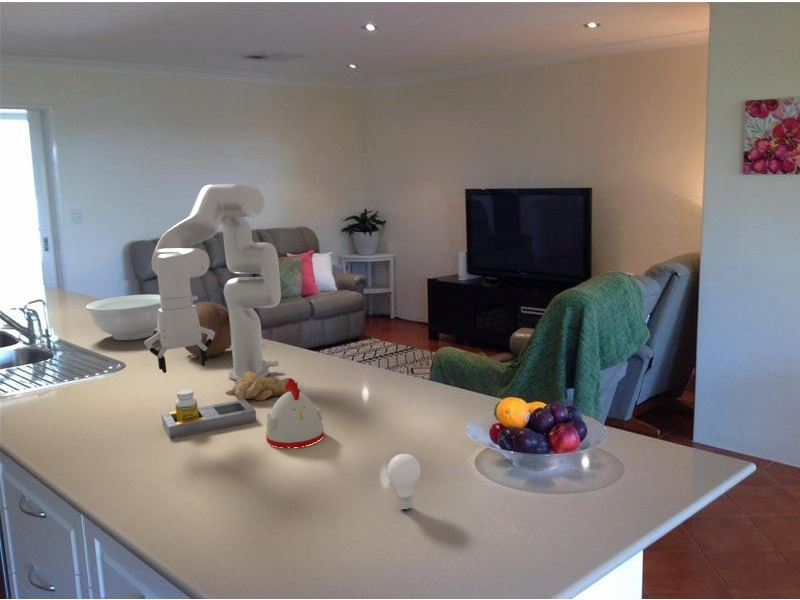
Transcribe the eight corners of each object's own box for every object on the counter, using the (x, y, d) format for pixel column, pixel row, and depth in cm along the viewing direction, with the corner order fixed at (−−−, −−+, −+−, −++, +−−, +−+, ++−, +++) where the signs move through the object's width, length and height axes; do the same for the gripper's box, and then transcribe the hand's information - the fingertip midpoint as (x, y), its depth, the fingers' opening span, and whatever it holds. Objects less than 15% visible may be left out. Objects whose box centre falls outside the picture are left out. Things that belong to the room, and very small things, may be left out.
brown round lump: (198, 366, 246) (262, 360, 271) (209, 310, 243) (272, 309, 268) (161, 347, 257) (225, 343, 282) (171, 294, 254) (235, 294, 278)
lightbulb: (387, 502, 142) (385, 449, 140) (420, 500, 143) (418, 447, 140) (390, 518, 136) (387, 462, 134) (423, 515, 136) (422, 460, 134)
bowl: (103, 329, 309) (99, 295, 306) (181, 325, 312) (178, 291, 310) (79, 348, 277) (74, 310, 275) (166, 343, 281) (162, 306, 278)
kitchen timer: (276, 453, 169) (272, 391, 166) (259, 435, 181) (255, 377, 178) (332, 441, 175) (329, 381, 172) (312, 424, 187) (308, 368, 184)
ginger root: (215, 394, 210) (219, 366, 210) (260, 393, 222) (264, 367, 222) (247, 407, 199) (252, 378, 199) (294, 406, 211) (298, 378, 211)
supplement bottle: (195, 422, 192) (192, 387, 190) (202, 427, 187) (199, 392, 185) (175, 426, 189) (171, 391, 187) (181, 432, 184) (177, 396, 182)
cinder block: (245, 409, 200) (244, 398, 199) (256, 421, 190) (255, 409, 190) (162, 425, 190) (161, 413, 190) (169, 438, 181) (168, 426, 180)
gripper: (207, 295, 189) (214, 358, 193) (138, 304, 181) (146, 370, 185) (214, 300, 182) (221, 366, 186) (142, 310, 175) (150, 378, 178)
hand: (183, 368), depth 185 cm, fingers open, 9 cm apart
